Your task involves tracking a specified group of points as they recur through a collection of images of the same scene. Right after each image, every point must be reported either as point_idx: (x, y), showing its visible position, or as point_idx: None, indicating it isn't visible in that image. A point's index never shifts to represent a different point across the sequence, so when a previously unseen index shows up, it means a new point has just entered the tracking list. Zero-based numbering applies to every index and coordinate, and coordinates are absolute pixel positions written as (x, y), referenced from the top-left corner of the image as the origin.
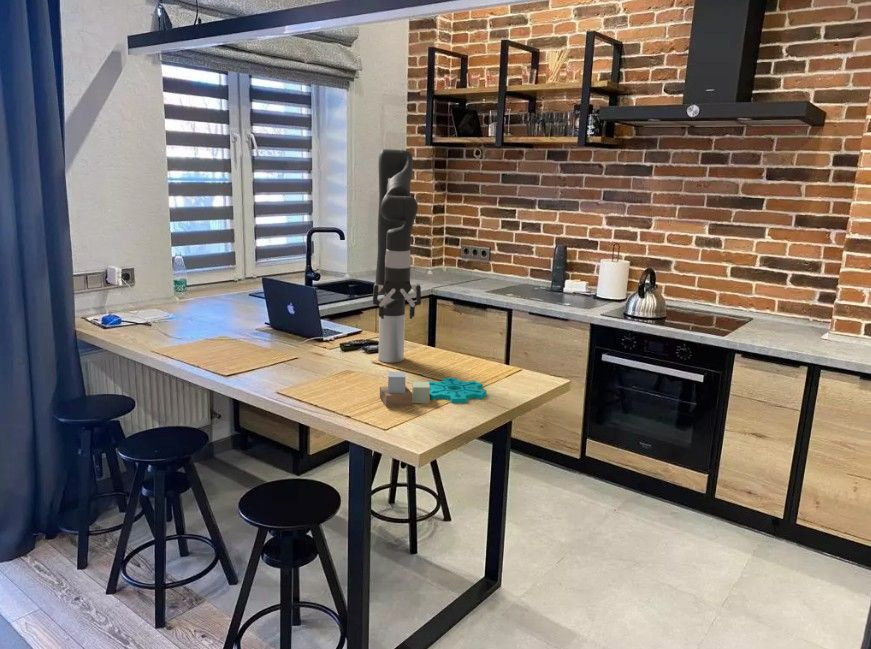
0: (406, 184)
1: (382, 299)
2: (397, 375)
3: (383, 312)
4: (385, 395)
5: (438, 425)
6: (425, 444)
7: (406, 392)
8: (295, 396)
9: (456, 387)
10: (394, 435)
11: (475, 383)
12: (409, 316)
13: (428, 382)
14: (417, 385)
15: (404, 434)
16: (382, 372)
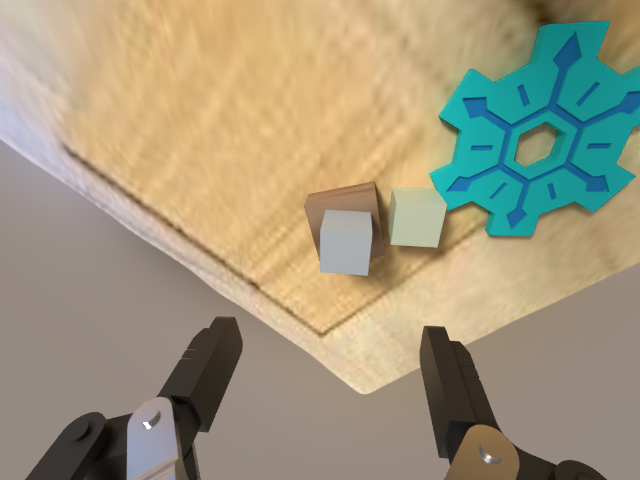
0: None
1: (145, 472)
2: (346, 263)
3: (223, 388)
4: (319, 256)
5: (415, 329)
6: (377, 378)
7: (371, 246)
8: (117, 177)
9: (553, 126)
10: (334, 352)
11: None
12: (424, 346)
13: (445, 208)
14: (405, 231)
15: (350, 351)
16: None
